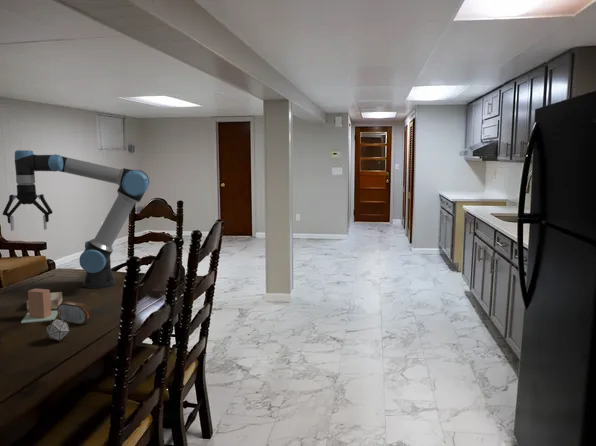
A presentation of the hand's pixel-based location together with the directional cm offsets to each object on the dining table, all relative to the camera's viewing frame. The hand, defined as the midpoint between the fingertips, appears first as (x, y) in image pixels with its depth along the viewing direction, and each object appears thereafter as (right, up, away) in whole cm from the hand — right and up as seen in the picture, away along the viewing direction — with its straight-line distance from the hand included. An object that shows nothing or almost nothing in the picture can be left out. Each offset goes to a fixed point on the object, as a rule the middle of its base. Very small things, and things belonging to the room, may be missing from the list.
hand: (29, 229), depth 221 cm
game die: (+38, -40, -48) cm, 73 cm away
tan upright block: (+19, -35, -25) cm, 47 cm away
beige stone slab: (+13, -34, -10) cm, 37 cm away
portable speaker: (+35, -37, -31) cm, 60 cm away
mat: (+19, -36, -25) cm, 47 cm away
